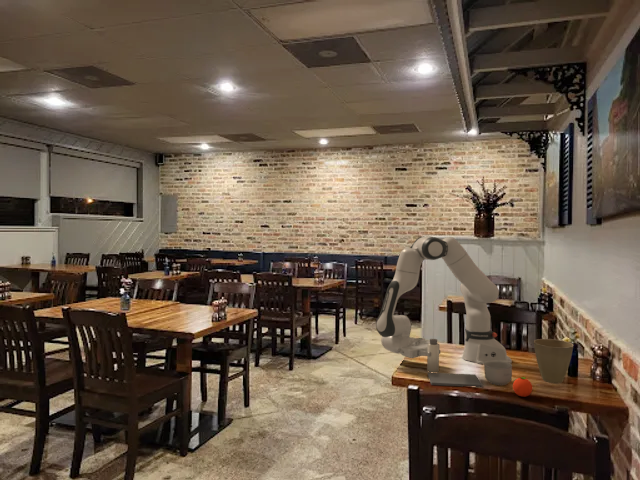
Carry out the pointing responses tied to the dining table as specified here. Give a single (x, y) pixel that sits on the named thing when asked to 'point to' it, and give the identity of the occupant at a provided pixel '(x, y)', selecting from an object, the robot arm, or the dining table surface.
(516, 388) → the clementine
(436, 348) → the pepper mill
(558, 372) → the plant pot
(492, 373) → the teacup
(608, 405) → the dining table surface
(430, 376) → the slate board
